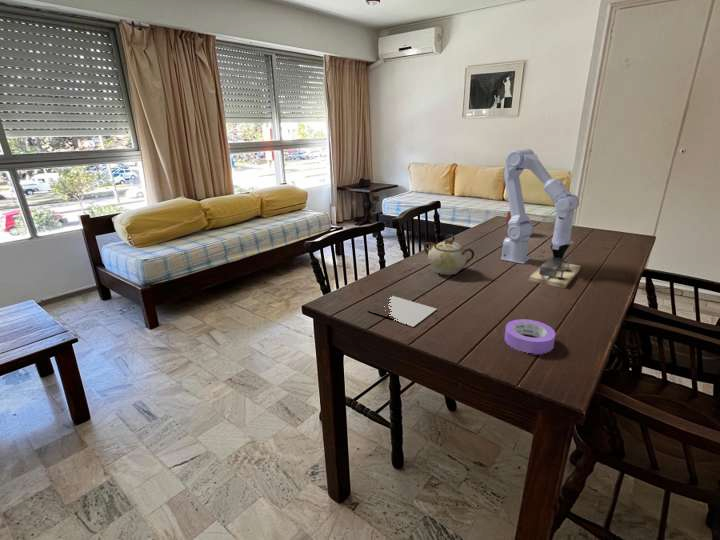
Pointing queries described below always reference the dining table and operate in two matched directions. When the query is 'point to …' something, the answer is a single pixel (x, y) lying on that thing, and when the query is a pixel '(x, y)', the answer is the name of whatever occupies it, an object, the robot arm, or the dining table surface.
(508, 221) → the mechanical component
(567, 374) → the dining table surface
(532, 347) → the masking tape
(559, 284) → the hole board
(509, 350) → the dining table surface
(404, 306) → the paper stack
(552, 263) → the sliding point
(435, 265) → the cream teapot
